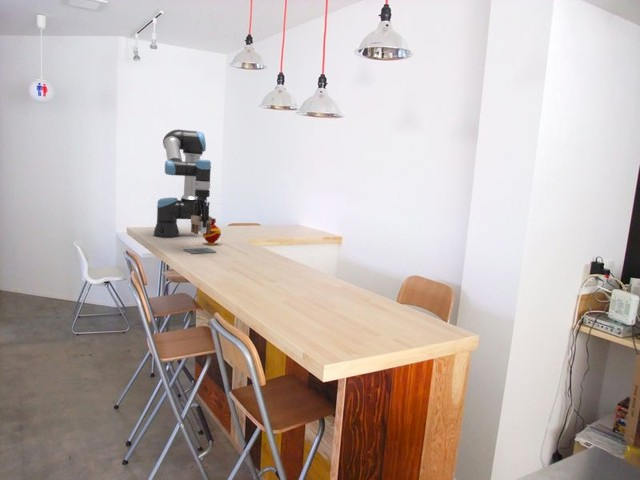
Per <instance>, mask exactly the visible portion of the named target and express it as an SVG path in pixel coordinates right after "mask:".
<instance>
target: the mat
mask: <svg viewBox="0 0 640 480" xmlns="http://www.w3.org/2000/svg"><path fill="white" fill-rule="evenodd" d="M183 251H185V252H186V253H189V254H190V255H199V254H201V255H202V254H216V253H217V251H216V250H214V249H211V248H210V247H197V248H183Z"/></svg>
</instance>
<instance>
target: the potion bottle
mask: <svg viewBox="0 0 640 480" xmlns="http://www.w3.org/2000/svg"><path fill="white" fill-rule="evenodd" d="M216 223H217V221H216V218H213V217H212V222H211V234H207V232H206V234H202V237H203V238H204V240H205V241H206V242H207V243H206V245H208V246H215V245H216V242H217V241H218V240H219V239H220V237H221V236H222V235H221V234H222V232H221V229H220V228H219V227H218V226H217V225H215V224H216Z"/></svg>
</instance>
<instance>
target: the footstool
mask: <svg viewBox="0 0 640 480" xmlns="http://www.w3.org/2000/svg"><path fill="white" fill-rule="evenodd" d="M212 218H213V217H212V216H210V215H209V221H207V223H206V232H207V234H211V222H212ZM201 220H202V214H201V215H199V216H191V219H190V223H191V226H190V232H191V233H193V234H194V235H198V234H199V232H198V226H199V225H201Z"/></svg>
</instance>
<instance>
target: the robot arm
mask: <svg viewBox="0 0 640 480" xmlns="http://www.w3.org/2000/svg"><path fill="white" fill-rule="evenodd" d="M162 145H163V148H164V149H165V151H166V152H165V153H166V158H167V160H166V161H164V162H165V163H164V174H165V175H168V176H179V177H182V176H183V177H184V180H183V183H184V184H183V194H182V196H181V197H180V199H178V198H177V197H163V198H160V199H158V200H157V204H156V205H157V206H156V208H157V209H156V210H157V211H156V225H155V227H154V230H153V236H155V237H159V238H177V237H180V230H179V227H178V226H179V225H178V224H177V223H178V220H191V216H199V215H202V220H201V225H199V226H198V233H199V232H200V234H201V235H203V234H206V223H207V221H209V216H210V204H211V203H210V201H208V198H209V197H210V195H211V194H210V189H211V171H212V165H211V164H212V162H211V160H209V159H201V156H203V153H204V152H206V149H207V148H206V146H207V145H206V137H205V135H204V133H203V132H201V131H196V130H185V129H173V130H171V131H169V132H168V133H166V135H165V136H164V137H163V139H162ZM181 150H182V154H184V156H185V157H184V158H185V160H184V161H183V160H182V154H181Z"/></svg>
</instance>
